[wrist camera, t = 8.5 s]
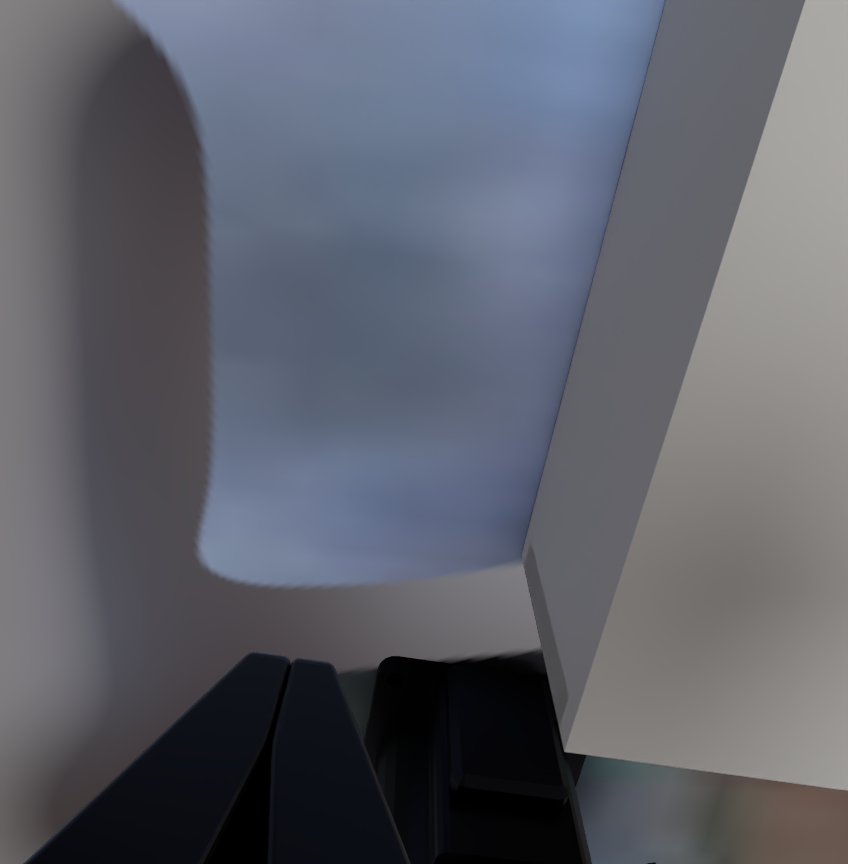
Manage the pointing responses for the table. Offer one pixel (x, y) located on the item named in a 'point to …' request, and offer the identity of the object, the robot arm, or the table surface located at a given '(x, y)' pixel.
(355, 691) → the table surface
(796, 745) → the cabinet
